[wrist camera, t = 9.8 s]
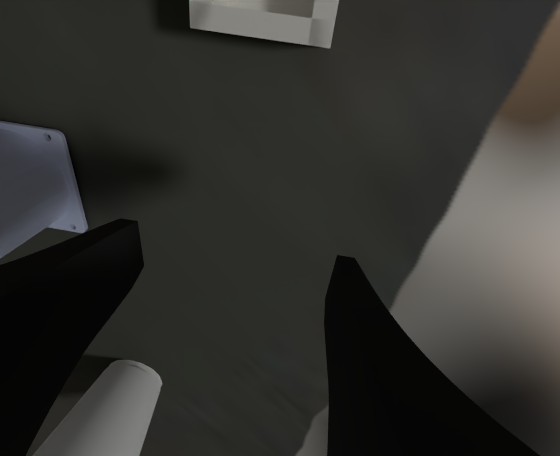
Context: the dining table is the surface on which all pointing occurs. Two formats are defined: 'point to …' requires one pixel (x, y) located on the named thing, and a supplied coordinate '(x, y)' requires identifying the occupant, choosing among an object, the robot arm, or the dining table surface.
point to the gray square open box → (268, 19)
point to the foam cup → (108, 414)
